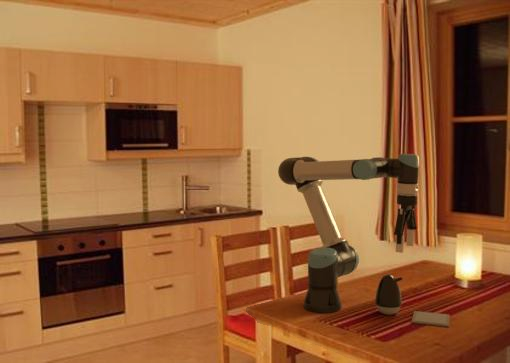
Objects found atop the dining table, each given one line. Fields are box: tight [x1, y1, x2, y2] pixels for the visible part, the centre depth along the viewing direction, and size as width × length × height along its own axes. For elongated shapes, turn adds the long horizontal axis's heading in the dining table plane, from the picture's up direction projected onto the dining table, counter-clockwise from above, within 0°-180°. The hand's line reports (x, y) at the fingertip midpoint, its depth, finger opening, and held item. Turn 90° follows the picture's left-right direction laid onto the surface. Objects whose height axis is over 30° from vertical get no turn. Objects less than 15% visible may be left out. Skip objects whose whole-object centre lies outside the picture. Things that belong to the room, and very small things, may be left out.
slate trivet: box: [411, 310, 450, 328], centre depth 205 cm, size 13×13×1 cm
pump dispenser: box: [374, 274, 403, 316], centre depth 213 cm, size 10×10×15 cm
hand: (404, 249), depth 210 cm, fingers open, 13 cm apart
